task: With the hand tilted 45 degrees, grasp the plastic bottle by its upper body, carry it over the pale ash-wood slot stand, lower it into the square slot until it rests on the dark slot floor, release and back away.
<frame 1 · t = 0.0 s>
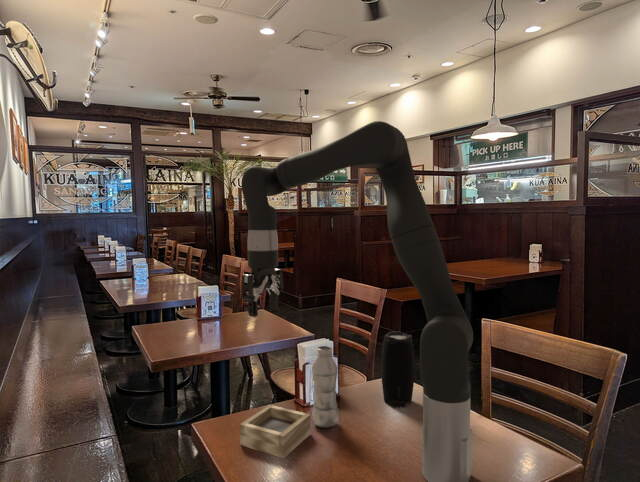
hand: (263, 312, 109), 29 cm above the table, tool pointing down, fingers open, 8 cm apart
portable speaker: (397, 402, 125), on the table
slot stand: (276, 439, 104), on the table
supplement bottle: (323, 393, 132), on the table
plastic bottle: (325, 425, 111), on the table
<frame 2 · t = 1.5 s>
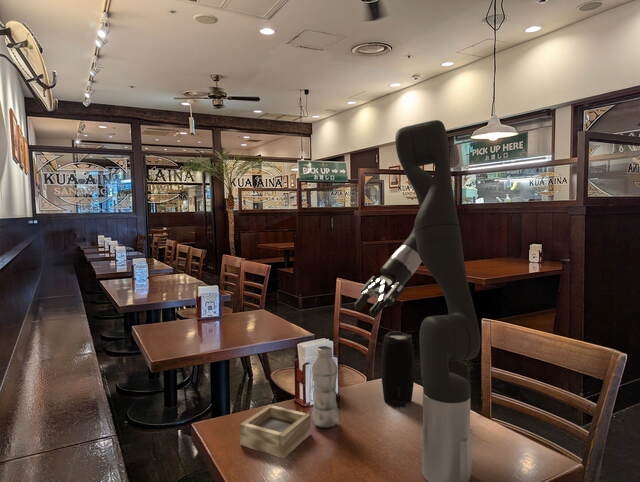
hand: (363, 311, 114), 28 cm above the table, tool tilted 45°, fingers open, 8 cm apart
nothing on the table moved.
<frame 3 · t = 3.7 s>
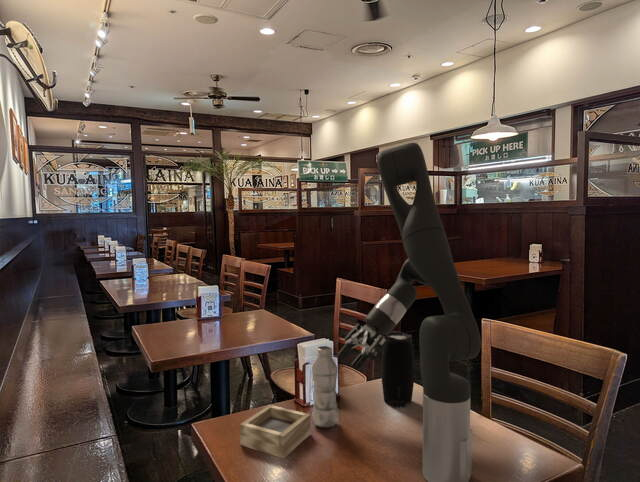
hand: (346, 362, 113), 15 cm above the table, tool tilted 45°, fingers open, 8 cm apart
nothing on the table moved.
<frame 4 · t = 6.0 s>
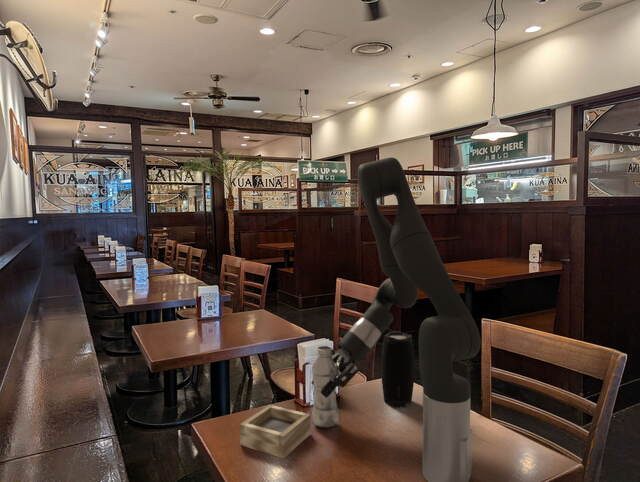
hand: (318, 390, 110), 9 cm above the table, tool tilted 45°, fingers closed on plastic bottle, 6 cm apart
plastic bottle: (325, 425, 111), on the table, touching gripper
everything else where it was.
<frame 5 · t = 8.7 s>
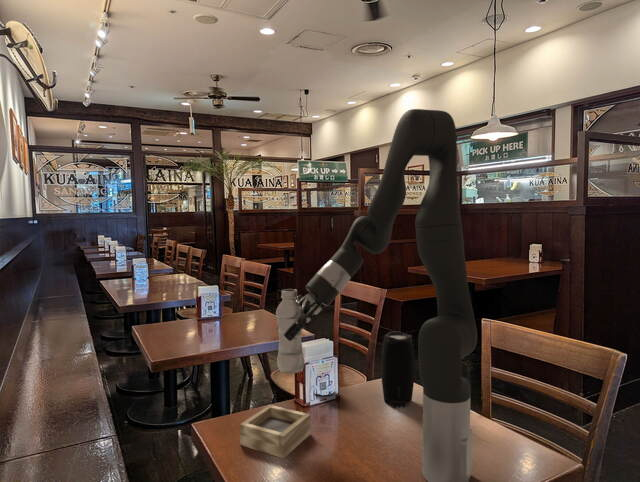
hand: (283, 334, 104), 25 cm above the table, tool tilted 45°, fingers closed on plastic bottle, 6 cm apart
plastic bottle: (290, 372, 105), point 15 cm above the table, touching gripper
everything else where it was.
when the fingers open (13 cm above the table, at t = 11.8 s): plastic bottle drops 1 cm, resting on slot stand.
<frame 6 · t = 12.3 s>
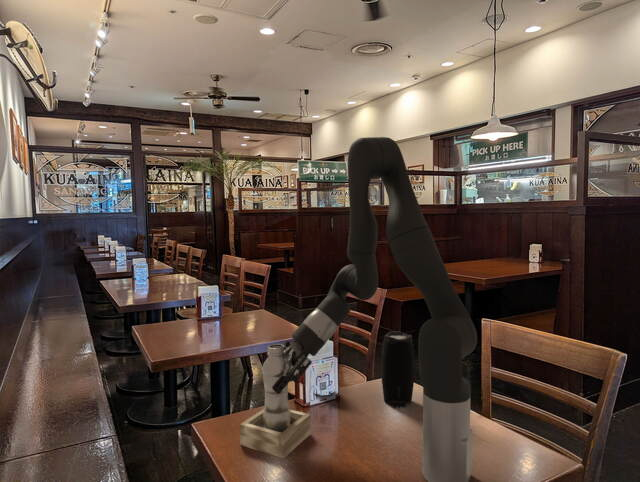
hand: (270, 384, 103), 14 cm above the table, tool tilted 45°, fingers open, 8 cm apart
plastic bottle: (276, 429, 104), point 3 cm above the table, touching slot stand
everything else where it was.
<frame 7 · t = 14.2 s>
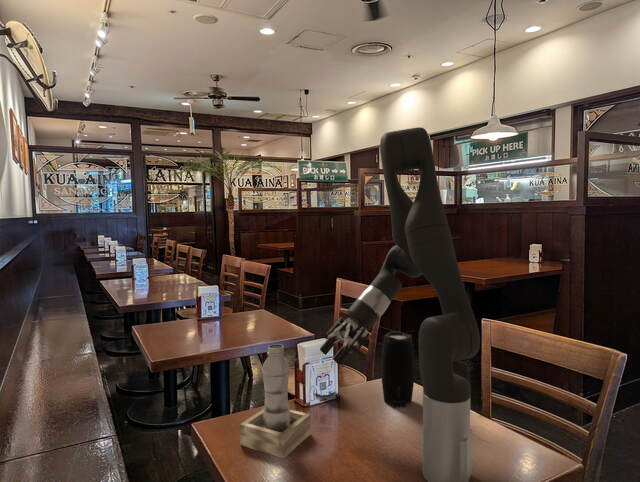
hand: (328, 357, 108), 18 cm above the table, tool tilted 45°, fingers open, 8 cm apart
nothing on the table moved.
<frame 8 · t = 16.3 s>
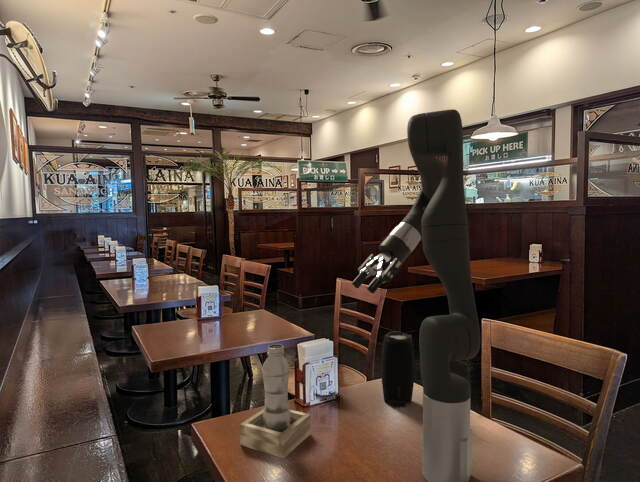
hand: (361, 288, 112), 35 cm above the table, tool tilted 45°, fingers open, 8 cm apart
nothing on the table moved.
at the end: plastic bottle inside the target area on the slot stand (0.2 cm from its centre), point 2.5 cm above the slot stand's base; plastic bottle tilted 0°; the gripper is holding nothing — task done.
